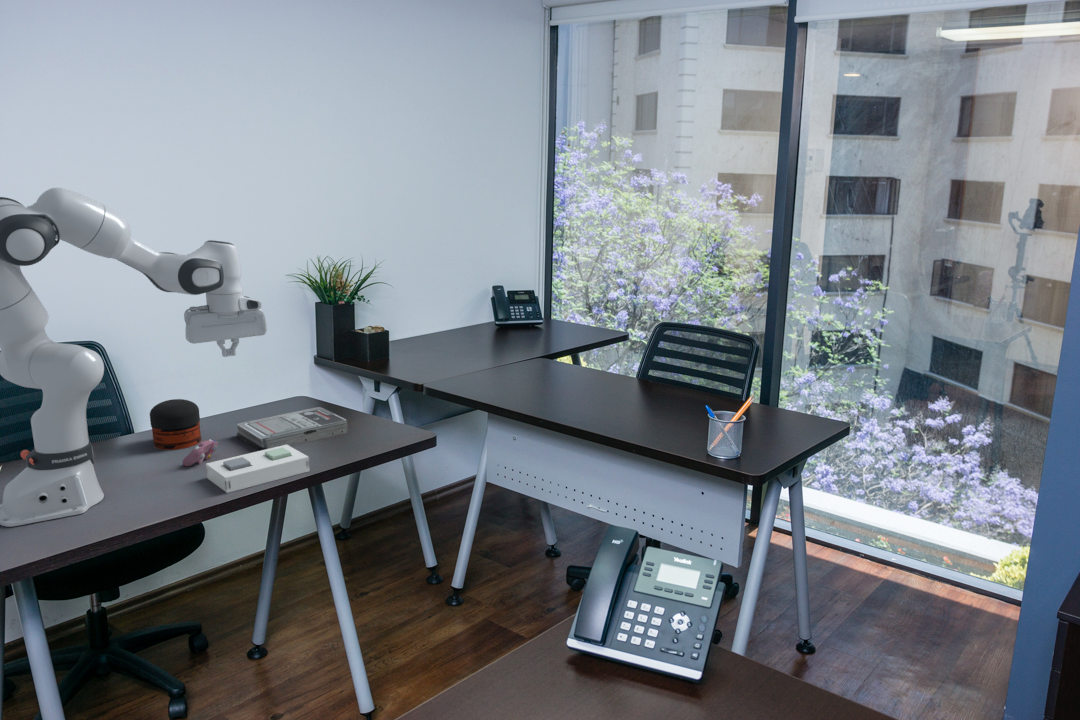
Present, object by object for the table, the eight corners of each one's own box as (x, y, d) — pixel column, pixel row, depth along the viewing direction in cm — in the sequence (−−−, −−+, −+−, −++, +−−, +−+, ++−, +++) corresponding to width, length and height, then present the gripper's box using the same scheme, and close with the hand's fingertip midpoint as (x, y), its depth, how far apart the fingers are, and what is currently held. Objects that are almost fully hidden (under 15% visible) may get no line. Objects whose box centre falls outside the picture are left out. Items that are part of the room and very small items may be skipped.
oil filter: (144, 443, 234) (167, 453, 226) (140, 403, 231) (162, 411, 223) (187, 432, 244) (210, 441, 236) (183, 393, 241) (206, 401, 233)
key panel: (227, 493, 199) (225, 477, 198) (207, 478, 208) (205, 463, 207) (309, 471, 213) (308, 456, 212) (287, 458, 222) (286, 444, 221)
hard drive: (237, 438, 240) (235, 423, 239) (321, 419, 257) (320, 406, 256) (262, 454, 227) (261, 439, 226) (349, 434, 244) (348, 420, 243)
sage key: (273, 467, 210) (272, 456, 209) (265, 462, 214) (264, 451, 213) (291, 462, 213) (291, 452, 213) (283, 457, 217) (282, 447, 216)
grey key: (231, 478, 203) (230, 466, 202) (224, 472, 207) (223, 461, 206) (251, 473, 206) (250, 462, 206) (243, 467, 210) (242, 457, 209)
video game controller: (194, 473, 216) (202, 452, 213) (179, 464, 216) (187, 443, 214) (215, 460, 225) (223, 440, 223) (201, 452, 225) (209, 431, 223)
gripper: (187, 309, 199) (192, 363, 202) (267, 301, 212) (271, 352, 215) (179, 305, 204) (183, 359, 207) (257, 298, 217) (261, 349, 220)
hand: (228, 355), depth 211 cm, fingers closed
